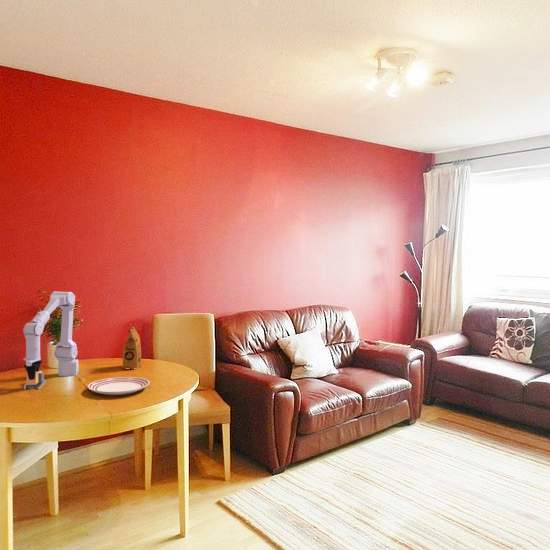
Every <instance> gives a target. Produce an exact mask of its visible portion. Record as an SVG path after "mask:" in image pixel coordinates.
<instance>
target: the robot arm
mask: <svg viewBox="0 0 550 550" xmlns="http://www.w3.org/2000/svg"><path fill="white" fill-rule="evenodd" d="M75 304H76V295H75V294H74V293H73V292H72V291H57V290H54V291H53V292H52V293H51V295H49V301H48V303H46V305H45V307H44V308H43V310H40V311H38V312H37V314H36V315H34V317H33V319H32V320H30V322H27V323H25V324H24V326H23V329H22V331H23V332H22V333H23V334H24V338H25V346H26V347H25V350H26V351H25V357H24V358H23V359H22V360H23V361H25V364H24V365H23V367H24V369H25V371H26V374H27V373H28V377H29V380H34V379H35V374H36V372H39V371H40V367H41V364H42V362H43V360H41V358H42V357H41V335H42V334H43V332H44V328H45V325H46V324H47V323H48V322H49V320H50V319H51V316H50V315H51V314H52V313H53V312H54V311H55V310H56V308H57V307H58V308H60V309H61V325H60V326H61V328H60V341H58V342H57V343H56V344H55V349H54V357H55V358H56V360H57V362H58V363H57V365H58V366H57V367H58V368H57V369H58V371H57V372H58V374H57V375H58V376H59V377H70V376H71V377H72V376H74V377H76V376H77V375H78V374H79V373H80V372H79V359H76V358H77V357H78V347H77V343H76V342H75V341H73V326H74V323H73V322H74V308H75V306H76V305H75Z"/></svg>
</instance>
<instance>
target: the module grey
mask: <svg viewBox="0 0 550 550" xmlns="http://www.w3.org/2000/svg"><path fill="white" fill-rule="evenodd" d="M44 380H45V371H42V370H39V372H38V383H37V384H41V383H42V382H43V381H44Z"/></svg>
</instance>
